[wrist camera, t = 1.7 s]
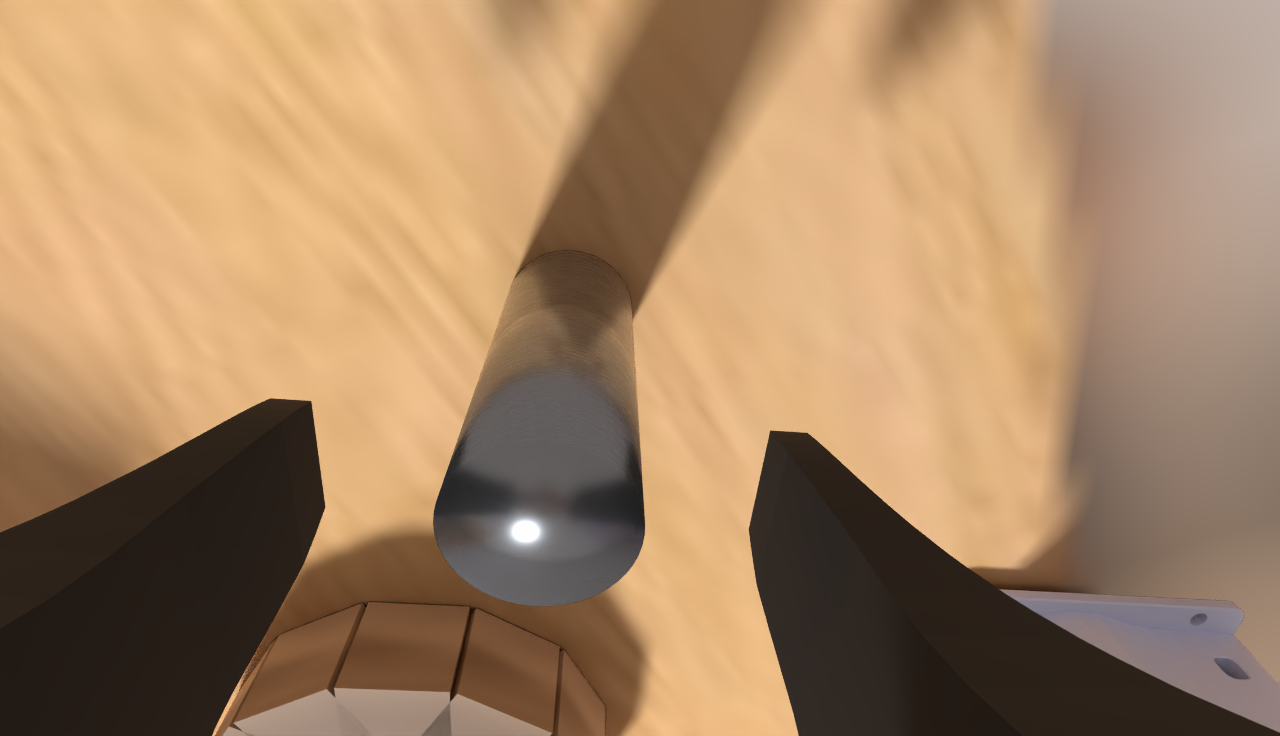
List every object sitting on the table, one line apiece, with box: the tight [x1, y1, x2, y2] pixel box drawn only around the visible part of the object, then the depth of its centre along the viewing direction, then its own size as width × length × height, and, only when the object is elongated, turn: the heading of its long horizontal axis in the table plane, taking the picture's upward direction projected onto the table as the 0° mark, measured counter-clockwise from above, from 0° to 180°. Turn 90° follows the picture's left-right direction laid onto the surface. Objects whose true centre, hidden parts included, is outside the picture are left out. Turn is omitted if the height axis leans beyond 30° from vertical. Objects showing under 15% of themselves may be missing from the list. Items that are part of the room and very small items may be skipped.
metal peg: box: [433, 251, 645, 606], centre depth 14 cm, size 3×3×8 cm
